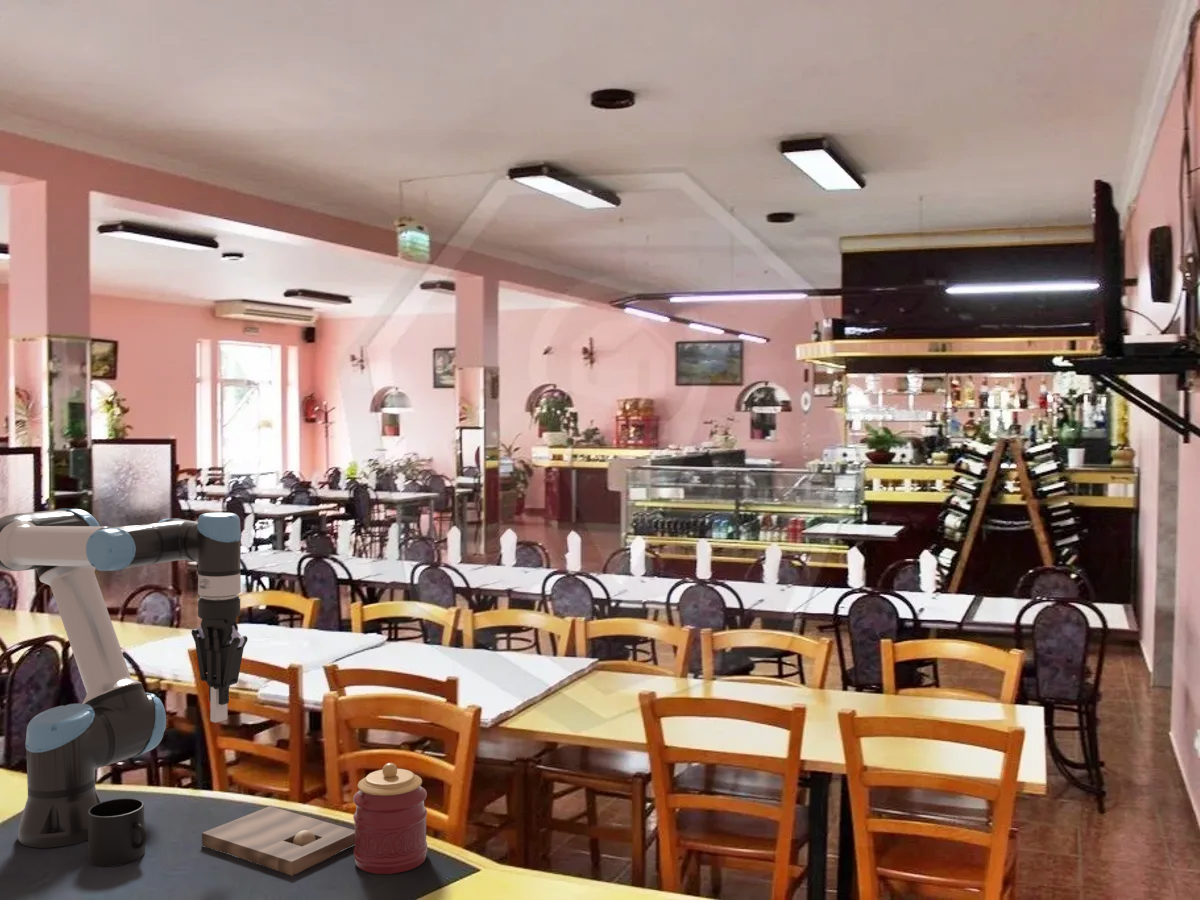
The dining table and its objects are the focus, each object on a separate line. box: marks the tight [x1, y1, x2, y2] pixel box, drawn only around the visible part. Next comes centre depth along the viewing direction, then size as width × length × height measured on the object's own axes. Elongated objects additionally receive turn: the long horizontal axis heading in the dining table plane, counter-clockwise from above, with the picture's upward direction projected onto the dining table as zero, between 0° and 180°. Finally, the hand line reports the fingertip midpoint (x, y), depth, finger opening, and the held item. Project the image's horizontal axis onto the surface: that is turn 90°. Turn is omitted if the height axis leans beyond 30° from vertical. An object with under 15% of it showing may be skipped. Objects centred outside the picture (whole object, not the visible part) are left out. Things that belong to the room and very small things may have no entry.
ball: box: [293, 830, 316, 846], centre depth 201 cm, size 4×4×4 cm
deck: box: [201, 805, 355, 877], centre depth 205 cm, size 24×16×2 cm, turn 58°
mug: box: [87, 797, 147, 867], centre depth 199 cm, size 9×12×9 cm
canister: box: [352, 762, 428, 875], centre depth 198 cm, size 13×13×18 cm
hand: (218, 720), depth 207 cm, fingers closed
